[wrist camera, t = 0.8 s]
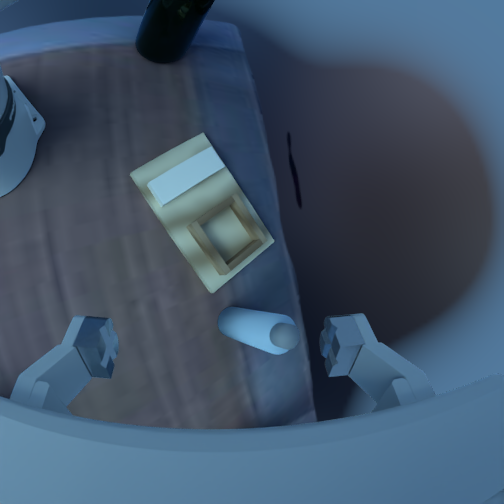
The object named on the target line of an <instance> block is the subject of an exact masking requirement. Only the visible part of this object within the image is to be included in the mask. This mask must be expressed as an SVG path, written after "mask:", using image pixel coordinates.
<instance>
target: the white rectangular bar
mask: <svg viewBox="0 0 504 504" xmlns="http://www.w3.org/2000/svg"><path fill="white" fill-rule="evenodd" d="M224 167H225V165H224V164H223V162H222V161H221V159H220V158H219V156H218V155H217V153H216V152H215V150H214V149H213V147H212V146H211V147H209V148H207V149H205V150H203V151H202V152H200V153H198V154H196V155H194V156H193V157H191V158H189V159H187V160H185V161H184V162H182V163H180V164H179V165H177V166H175V167H173V168H172V169H170V170H168V171H167V172H165V173H163V174H162V175H160V176H158V177H157V178H155V179H153V180H152V181H150V182H149V183H148V184H147V186H148V188H149V189H150V191H151V193H152V194H153V196H154V197H155V199H156V200H157V202H158V203H159V205H160V206H161V207H163V206H164V205H166V204H167V203H169V202H170V201H172V200H173V199H175V198H176V197H178V196H180V195H181V194H183V193H184V192H186V191H187V190H189V189H190V188H192V187H194V186H195V185H197V184H198V183H200V182H202V181H203V180H205V179H206V178H208V177H210V176H211V175H213V174H215V173H216V172H218V171H220V170H221V169H223V168H224Z"/></svg>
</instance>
